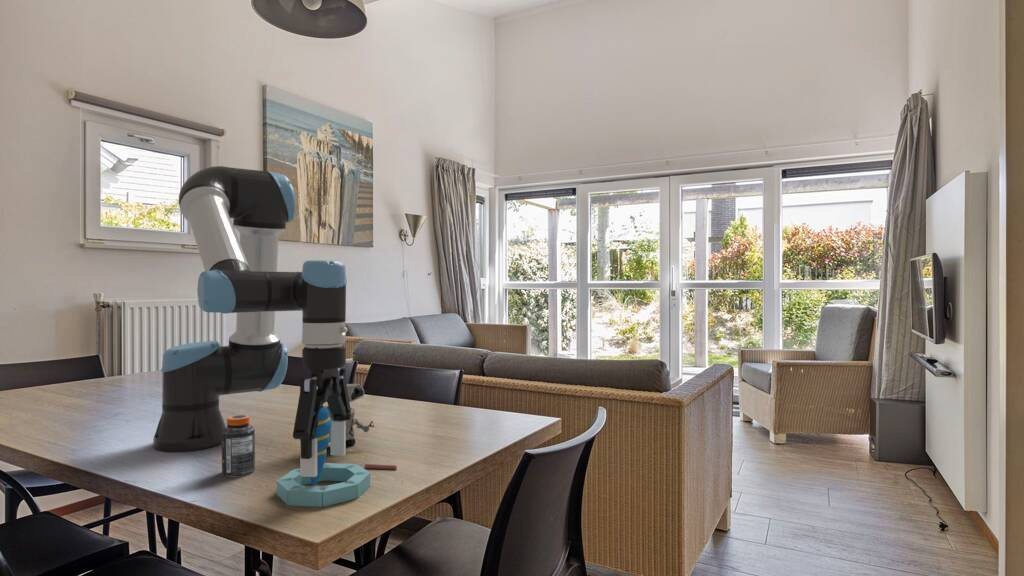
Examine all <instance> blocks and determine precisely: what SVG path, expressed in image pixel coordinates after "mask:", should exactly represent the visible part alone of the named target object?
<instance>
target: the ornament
mask: <svg viewBox="0 0 1024 576" xmlns="http://www.w3.org/2000/svg"><path fill="white" fill-rule="evenodd" d="M315 414H316V412H315V411H314V413H313V416H314V415H315ZM331 427H332V421H331V417H330V415H329V411H328V409H327V408H326V407H322V408H321V409H320V410H319V412H318V426H317V429H316V433H315V437H314V438H317V476H316V477H310V478H311V482H312V483H311V484H312V486H316V485H317V486H318V483H319V482H318V480H319V477H320V475H321V472H322V470H323V466H324V463H326V459H327V456H328V455H327V454H328V453H327V451H326V448H327V446H329V443H330V442H329V440H330V436H329V432H330V430H331Z"/></svg>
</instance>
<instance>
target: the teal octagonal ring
mask: <svg viewBox="0 0 1024 576" xmlns="http://www.w3.org/2000/svg"><path fill="white" fill-rule="evenodd" d="M325 481H334V482H337V483H333V484H330V485H324V486H318V485H317V486H316V485H311V484H312V482H311V478H310V477H302V476H300V468H294V469H291V470H290V471H289V472H287V473H285V474H284V475H283V476H281V477H280V478H278V479H277V480H276V496H277V497H279V498H280V499H281V501H283V502H284V503H285V504H286V505H287V506H296V507H297V506H300V507H314V508H317V507H319V508H323V507H328V506H332V505H336V504H337V505H338V504H340V503H344V502H349V501H352V500H357V499H358V498H360V497H361V496H362V494H364V493H365V492H366V491H367V490H368V489H369V488H370V487H371V472H370V471H369V470H367V469H366V468H365V467H364V468H363V467H362V466H361V465H359V464H357V463H356V464H355V463H336V462H335V463H331V462H324V466H323V470H322V472H321V475H320V477H319V480H318V483H319V482H325Z"/></svg>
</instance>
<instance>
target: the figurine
mask: <svg viewBox="0 0 1024 576" xmlns="http://www.w3.org/2000/svg"><path fill="white" fill-rule="evenodd" d="M346 384H347V390H348V396H349V402H350V403H353V402H354V401H357V400H359V399H362V398H364V397H365V389H364V388H363V387H362V385H361V384H360V383H346ZM325 403H327V401H326V402H325ZM323 407H326V408H327V409H328V411H329V415H330V417H331V421H335V420H334V419H333V417H332V414H331V411H330V409H329V406H328V404H327V405H323ZM350 408H351V413H350V414H349V415H351V419H350V420H345V421H346V445H347V446H350V447H352V446H355V444H356V438H355V431H354V426H356V428H357V429H361V430H362V431H363V432H364V433H368V432H369V431H370V428H375V426H374V421H373V420H371V422H370V423H369V424H368V425H365V424H363V423H362V422H360V421H359V420H358V418H355V411H356V409H355V408H353V407H351V406H350ZM329 436H330V440H329V443H331V430H330V432H329ZM326 451H327V454H329V452H330V453H331V447H330V446H329V445H328V446H327V448H326Z"/></svg>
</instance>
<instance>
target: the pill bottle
mask: <svg viewBox="0 0 1024 576" xmlns="http://www.w3.org/2000/svg"><path fill="white" fill-rule="evenodd" d="M255 433H256V431H255V428H254V426H253V425H250V415H249V414H235V415H230V416H228V417H227V418H226V428H225V429H224V430H223V431H222V443H221V474H222V476H223V477H226V478H238V477H239V478H240V477H246V476H248V475H251V474H252V473H254V472H255V471H256V470H255V469H256V441H255V440H256V438H255V435H256V434H255Z"/></svg>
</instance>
